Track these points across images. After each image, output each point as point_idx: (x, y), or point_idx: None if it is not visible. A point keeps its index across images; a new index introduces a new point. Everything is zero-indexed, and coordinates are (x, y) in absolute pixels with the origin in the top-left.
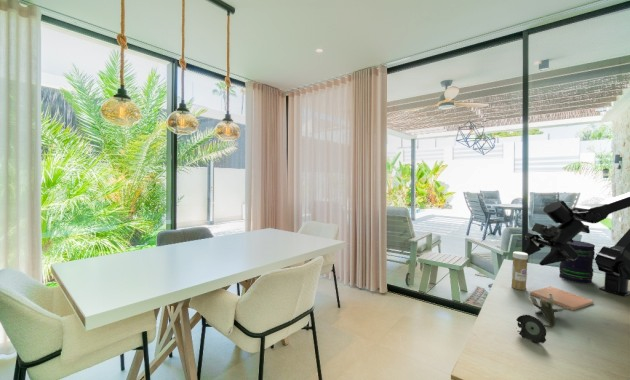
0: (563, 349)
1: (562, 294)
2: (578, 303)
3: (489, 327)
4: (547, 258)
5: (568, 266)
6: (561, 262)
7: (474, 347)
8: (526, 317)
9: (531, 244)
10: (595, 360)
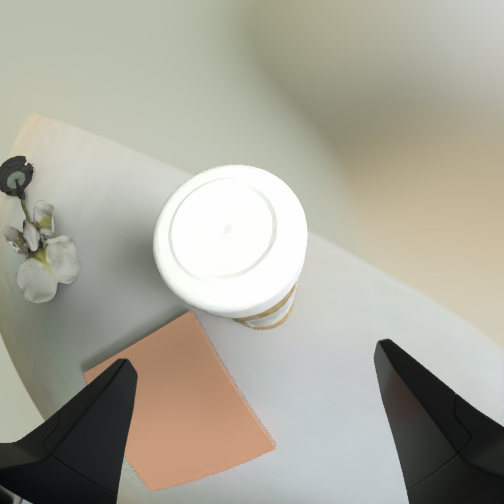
0: (7, 222)
1: (182, 434)
2: None
3: (60, 137)
4: (69, 404)
5: None
6: None
7: (42, 120)
8: (13, 166)
9: (462, 478)
10: None
